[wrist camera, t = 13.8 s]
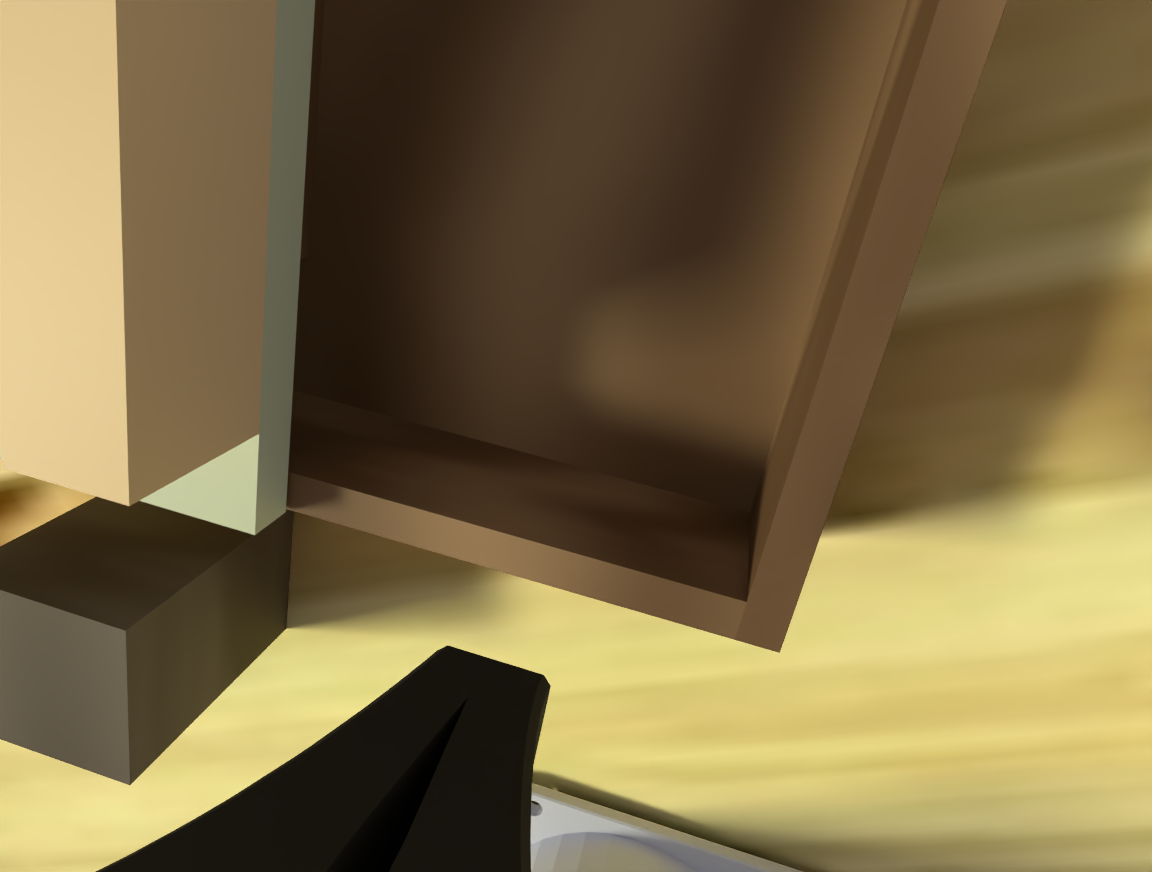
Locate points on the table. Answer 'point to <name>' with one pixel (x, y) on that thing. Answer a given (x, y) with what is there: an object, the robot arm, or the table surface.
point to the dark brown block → (130, 628)
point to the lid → (153, 248)
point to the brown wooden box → (613, 278)
